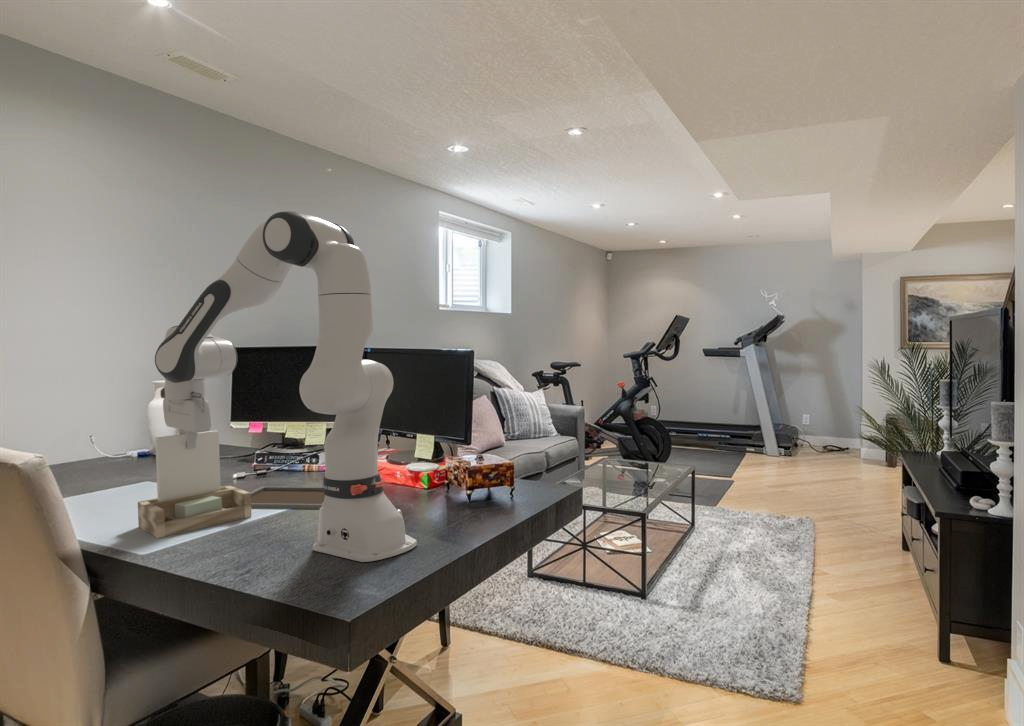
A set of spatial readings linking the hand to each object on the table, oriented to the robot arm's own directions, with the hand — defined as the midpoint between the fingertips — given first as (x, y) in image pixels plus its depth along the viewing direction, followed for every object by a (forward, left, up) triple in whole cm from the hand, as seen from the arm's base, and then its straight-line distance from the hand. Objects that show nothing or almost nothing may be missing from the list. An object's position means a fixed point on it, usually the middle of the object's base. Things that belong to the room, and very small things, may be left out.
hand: (188, 447), depth 150 cm
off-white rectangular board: (0, 0, -15) cm, 15 cm away
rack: (-4, 0, -18) cm, 18 cm away
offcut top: (-6, 0, -15) cm, 16 cm away
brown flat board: (0, -25, -19) cm, 31 cm away
